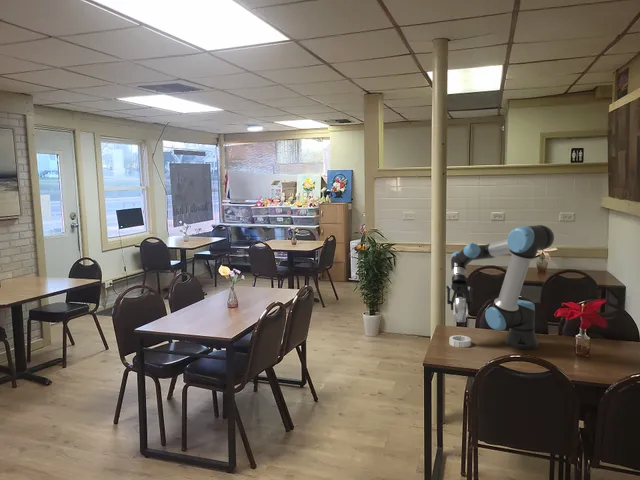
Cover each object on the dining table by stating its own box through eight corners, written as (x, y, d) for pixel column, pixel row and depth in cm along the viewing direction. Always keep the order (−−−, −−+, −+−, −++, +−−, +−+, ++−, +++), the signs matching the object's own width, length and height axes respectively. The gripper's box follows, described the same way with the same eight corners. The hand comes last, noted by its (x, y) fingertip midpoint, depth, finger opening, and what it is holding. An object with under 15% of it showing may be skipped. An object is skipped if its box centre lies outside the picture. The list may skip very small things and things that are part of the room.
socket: (475, 345, 247) (475, 339, 247) (459, 348, 243) (459, 342, 243) (461, 339, 257) (461, 334, 257) (445, 342, 252) (445, 337, 252)
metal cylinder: (468, 321, 247) (468, 298, 246) (459, 322, 245) (459, 299, 244) (460, 318, 252) (460, 296, 251) (452, 320, 250) (452, 297, 249)
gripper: (476, 281, 260) (479, 319, 246) (441, 281, 264) (441, 318, 250) (477, 273, 254) (480, 312, 240) (441, 273, 258) (442, 311, 244)
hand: (460, 315), depth 245 cm, fingers closed on metal cylinder, 5 cm apart
